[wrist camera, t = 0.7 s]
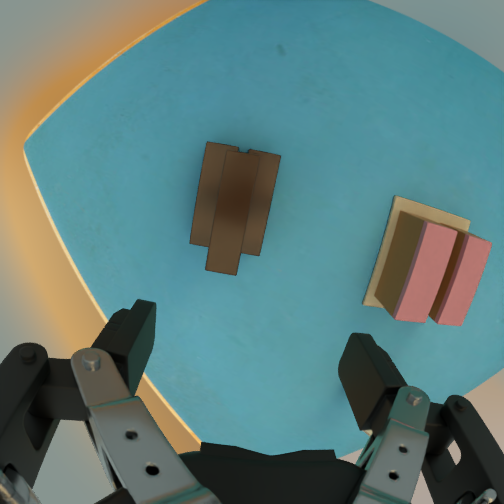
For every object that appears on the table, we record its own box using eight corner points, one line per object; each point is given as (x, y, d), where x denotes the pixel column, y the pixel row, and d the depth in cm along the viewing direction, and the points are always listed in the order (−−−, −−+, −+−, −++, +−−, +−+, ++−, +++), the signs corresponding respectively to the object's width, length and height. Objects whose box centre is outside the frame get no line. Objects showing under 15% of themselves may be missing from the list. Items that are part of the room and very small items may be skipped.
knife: (231, 151, 32) (226, 149, 21) (254, 155, 32) (260, 155, 21) (216, 233, 34) (204, 270, 23) (237, 236, 34) (236, 276, 24)
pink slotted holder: (394, 195, 33) (424, 205, 27) (468, 220, 35) (500, 232, 28) (361, 303, 38) (382, 331, 31) (436, 313, 39) (461, 336, 32)
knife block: (210, 142, 31) (206, 141, 27) (276, 155, 32) (281, 155, 28) (194, 233, 34) (189, 243, 30) (257, 245, 35) (259, 256, 31)
